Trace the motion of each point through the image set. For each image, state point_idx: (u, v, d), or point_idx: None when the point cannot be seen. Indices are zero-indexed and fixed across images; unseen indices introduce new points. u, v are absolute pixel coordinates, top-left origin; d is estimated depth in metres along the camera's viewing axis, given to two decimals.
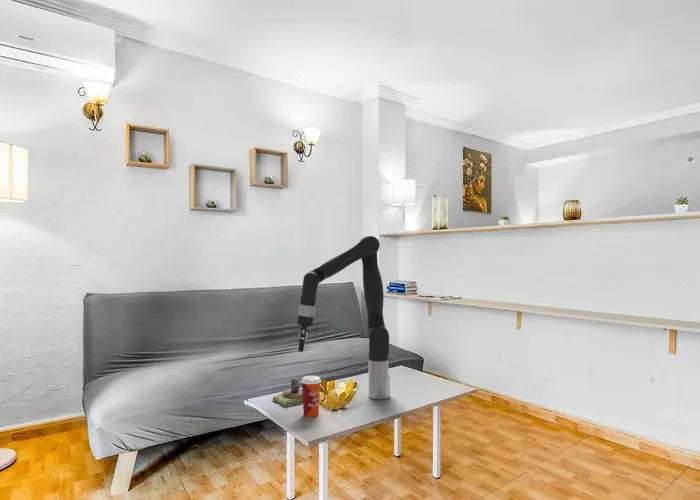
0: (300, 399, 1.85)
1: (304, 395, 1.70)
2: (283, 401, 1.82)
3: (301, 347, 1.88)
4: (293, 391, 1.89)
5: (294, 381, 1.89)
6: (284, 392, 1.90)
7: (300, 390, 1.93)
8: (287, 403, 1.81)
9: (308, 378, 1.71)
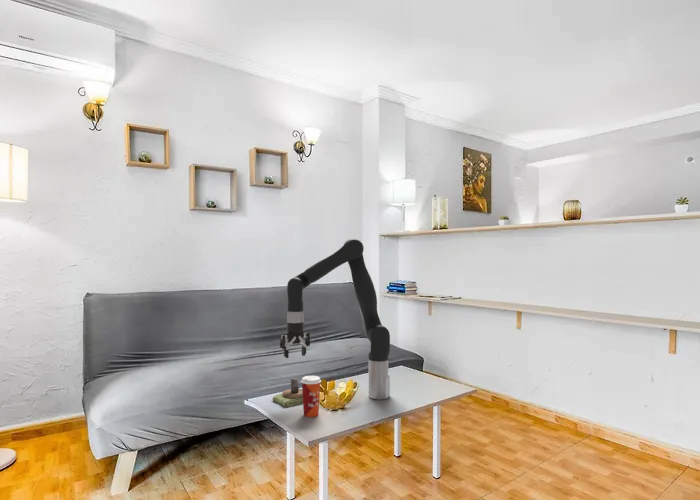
0: (300, 399, 1.85)
1: (304, 395, 1.70)
2: (283, 401, 1.82)
3: (284, 353, 1.88)
4: (293, 391, 1.89)
5: (294, 381, 1.89)
6: (284, 392, 1.90)
7: (300, 390, 1.93)
8: (287, 403, 1.81)
9: (308, 378, 1.71)
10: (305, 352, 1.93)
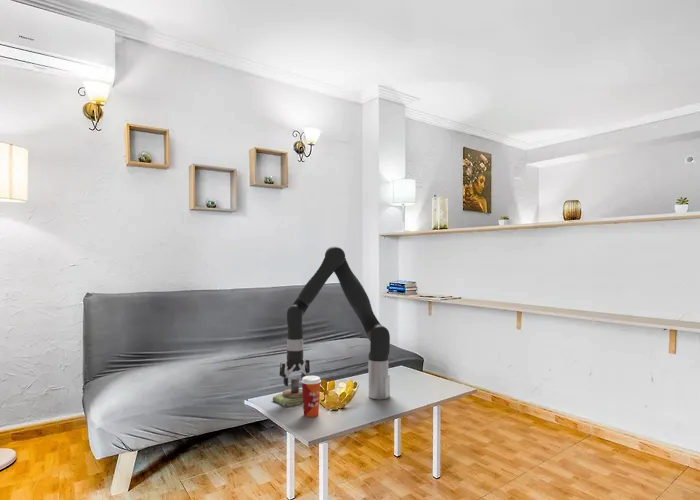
0: (300, 399, 1.85)
1: (304, 395, 1.70)
2: (283, 401, 1.82)
3: (284, 381, 1.87)
4: (293, 391, 1.89)
5: (294, 381, 1.89)
6: (284, 392, 1.90)
7: (300, 390, 1.93)
8: (287, 403, 1.81)
9: (308, 378, 1.72)
10: None
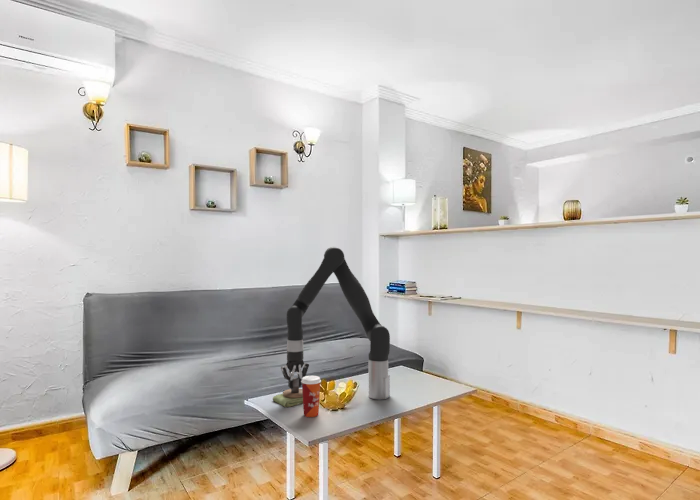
0: (300, 399, 1.85)
1: (304, 395, 1.70)
2: (283, 401, 1.82)
3: (289, 384, 1.89)
4: (293, 391, 1.89)
5: (294, 381, 1.89)
6: (284, 392, 1.90)
7: (300, 390, 1.93)
8: (288, 403, 1.81)
9: (308, 378, 1.71)
10: (301, 383, 1.92)
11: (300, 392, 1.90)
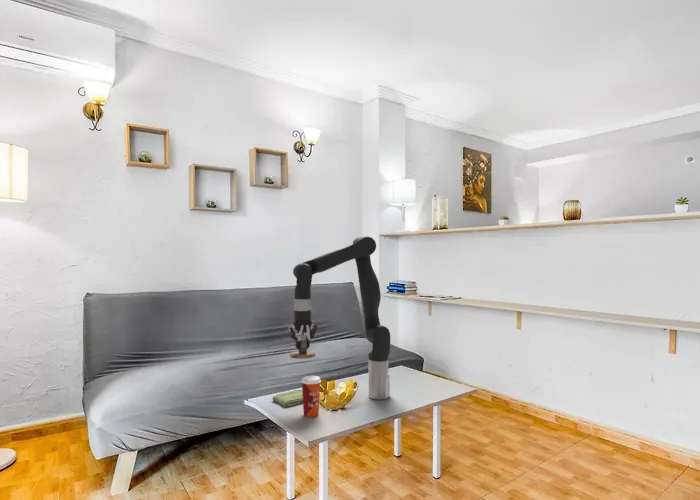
0: (300, 399, 1.85)
1: (304, 395, 1.70)
2: (283, 401, 1.82)
3: (296, 344, 1.80)
4: (301, 352, 1.81)
5: (302, 342, 1.81)
6: (291, 353, 1.82)
7: (308, 352, 1.85)
8: (288, 403, 1.81)
9: (308, 378, 1.71)
10: (309, 345, 1.83)
11: (308, 353, 1.81)
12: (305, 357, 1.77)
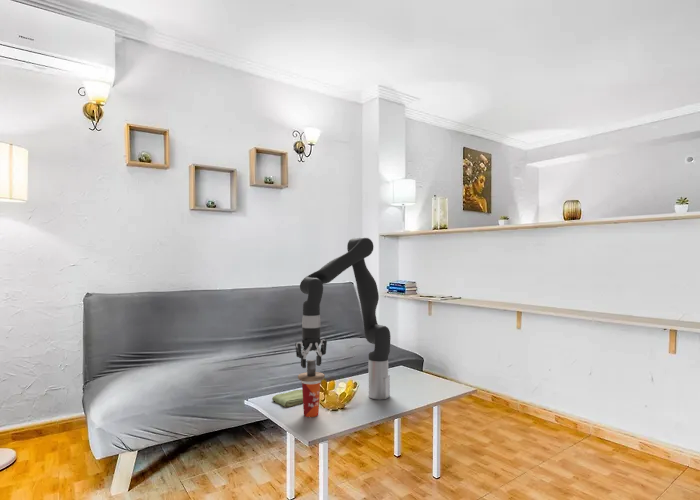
0: (300, 399, 1.85)
1: (304, 395, 1.70)
2: (283, 401, 1.82)
3: (301, 363, 1.70)
4: (309, 374, 1.71)
5: (310, 363, 1.71)
6: (299, 375, 1.72)
7: (317, 373, 1.75)
8: (287, 403, 1.81)
9: None
10: (320, 362, 1.74)
11: (317, 375, 1.72)
12: (314, 380, 1.67)
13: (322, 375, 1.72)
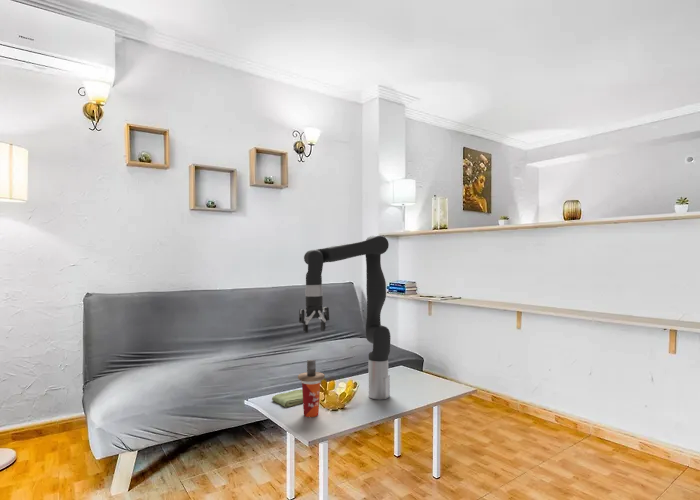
0: (300, 399, 1.85)
1: (304, 395, 1.70)
2: (283, 401, 1.82)
3: (304, 328, 1.81)
4: (309, 374, 1.71)
5: (310, 363, 1.71)
6: (299, 375, 1.72)
7: (317, 373, 1.75)
8: (287, 403, 1.81)
9: None
10: (324, 327, 1.87)
11: (317, 375, 1.72)
12: (314, 380, 1.67)
13: (322, 375, 1.72)
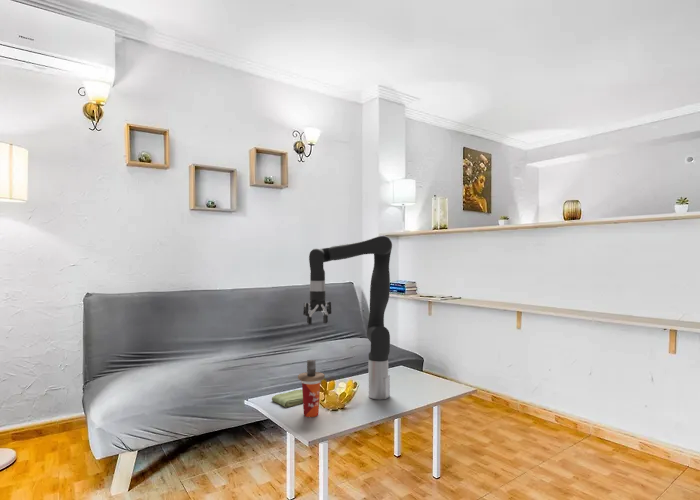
0: (300, 399, 1.85)
1: (304, 395, 1.70)
2: (283, 401, 1.82)
3: (308, 320, 1.97)
4: (309, 374, 1.71)
5: (310, 363, 1.71)
6: (299, 375, 1.72)
7: (317, 373, 1.75)
8: (287, 403, 1.81)
9: None
10: (327, 320, 2.02)
11: (317, 375, 1.72)
12: (314, 380, 1.67)
13: (322, 375, 1.72)
